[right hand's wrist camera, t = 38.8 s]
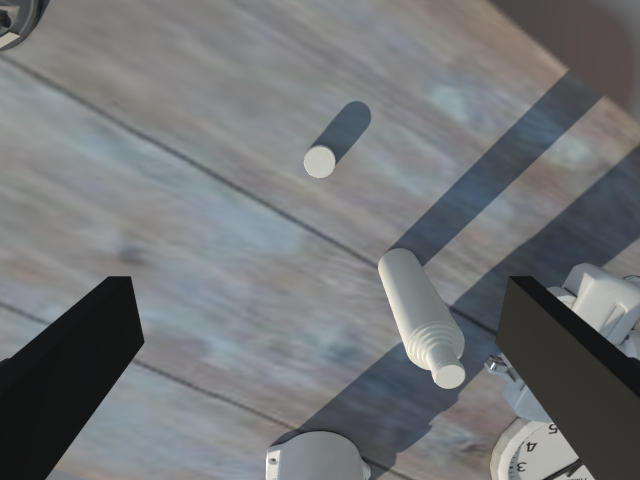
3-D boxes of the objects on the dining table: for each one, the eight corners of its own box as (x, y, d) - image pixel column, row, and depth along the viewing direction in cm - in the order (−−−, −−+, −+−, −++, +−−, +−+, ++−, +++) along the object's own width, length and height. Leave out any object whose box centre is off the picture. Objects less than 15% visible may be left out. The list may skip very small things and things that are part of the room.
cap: (306, 176, 46) (305, 179, 44) (302, 145, 45) (302, 147, 43) (336, 173, 46) (337, 176, 44) (333, 142, 45) (334, 144, 43)
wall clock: (693, 386, 56) (657, 514, 67) (684, 379, 57) (650, 505, 68) (496, 408, 57) (491, 529, 68) (491, 400, 59) (488, 520, 70)
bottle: (410, 241, 49) (473, 341, 29) (422, 275, 51) (490, 390, 31) (372, 256, 50) (408, 363, 30) (386, 289, 52) (428, 410, 32)
